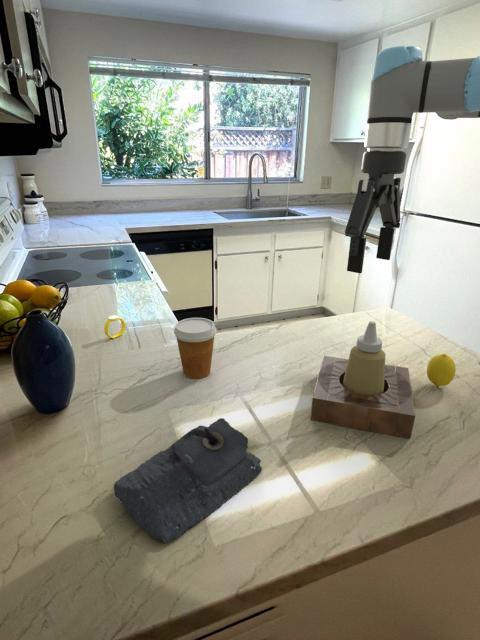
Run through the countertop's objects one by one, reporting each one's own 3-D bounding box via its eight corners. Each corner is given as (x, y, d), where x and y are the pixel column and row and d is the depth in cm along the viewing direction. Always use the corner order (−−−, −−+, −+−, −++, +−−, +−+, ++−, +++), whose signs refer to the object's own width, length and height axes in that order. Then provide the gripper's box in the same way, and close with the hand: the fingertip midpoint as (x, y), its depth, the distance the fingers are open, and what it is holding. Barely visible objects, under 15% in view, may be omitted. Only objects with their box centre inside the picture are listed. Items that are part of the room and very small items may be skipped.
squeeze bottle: (357, 418, 78) (370, 334, 71) (332, 396, 85) (341, 318, 78) (389, 408, 81) (404, 326, 74) (363, 388, 88) (374, 312, 81)
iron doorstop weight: (100, 491, 61) (96, 466, 59) (208, 425, 76) (207, 404, 74) (161, 556, 51) (159, 528, 49) (271, 466, 66) (272, 442, 64)
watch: (121, 331, 115) (119, 312, 112) (128, 334, 113) (125, 314, 111) (104, 338, 110) (101, 318, 108) (110, 341, 109) (107, 321, 106)
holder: (405, 387, 88) (408, 367, 86) (411, 439, 72) (416, 416, 70) (321, 374, 93) (323, 355, 92) (309, 420, 77) (311, 398, 75)
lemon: (446, 396, 85) (454, 362, 82) (420, 386, 89) (426, 354, 86) (454, 385, 89) (462, 353, 86) (428, 377, 93) (435, 345, 90)
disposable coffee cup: (177, 384, 89) (174, 335, 84) (175, 364, 97) (172, 318, 93) (220, 380, 91) (219, 332, 86) (214, 360, 99) (213, 315, 95)
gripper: (391, 150, 84) (376, 251, 92) (332, 149, 66) (321, 274, 74) (428, 151, 79) (410, 256, 87) (376, 149, 62) (359, 282, 70)
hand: (369, 265), depth 81 cm, fingers open, 13 cm apart
